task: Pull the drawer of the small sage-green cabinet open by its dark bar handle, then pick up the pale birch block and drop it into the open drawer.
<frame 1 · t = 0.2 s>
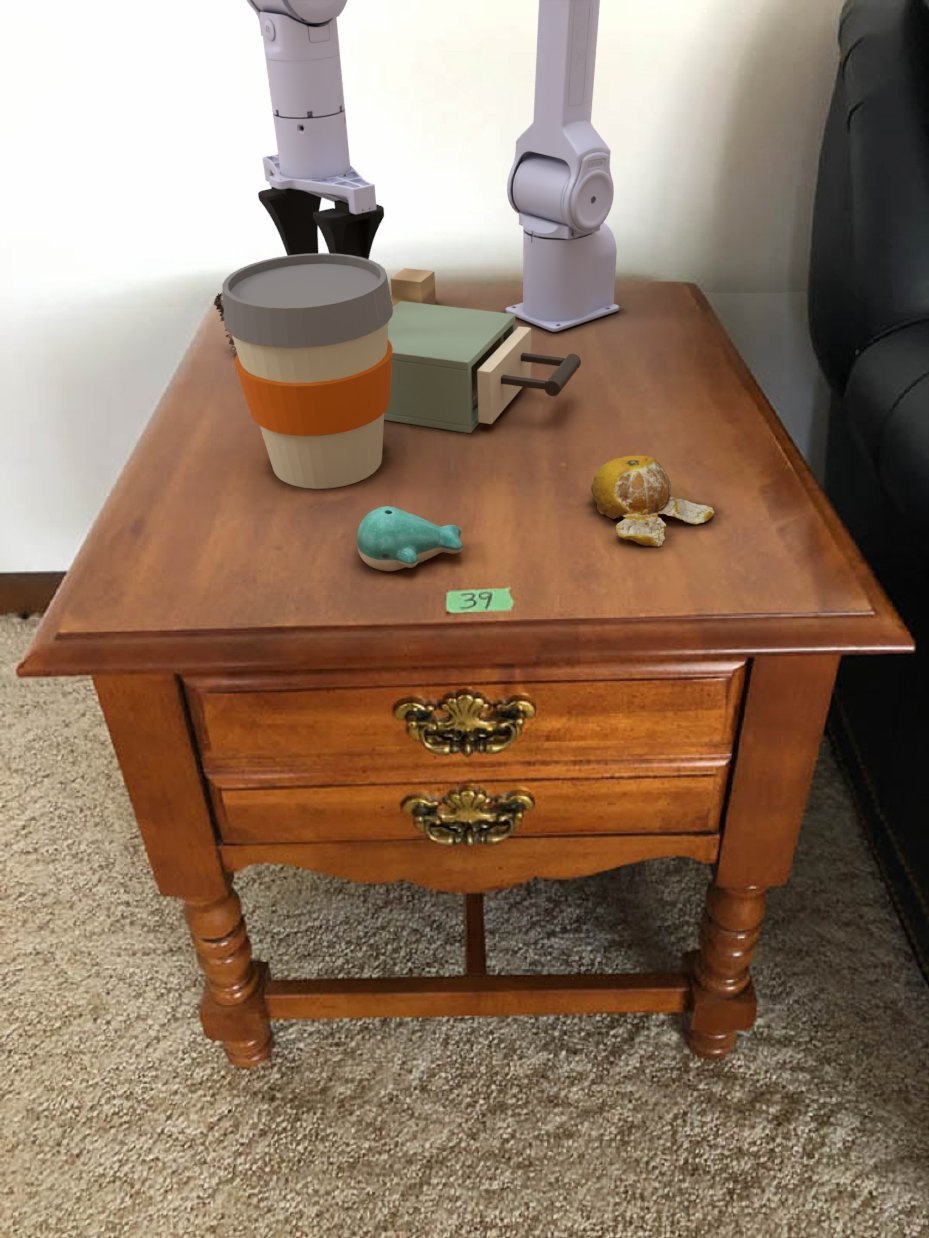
hand: (328, 282, 90), 10 cm above the table, tool pointing down, fingers open, 7 cm apart
fruit: (643, 520, 76), on the table
plant with pod: (271, 314, 100), point 4 cm above the table
cabinet: (435, 397, 94), on the table
block: (414, 307, 112), on the table
reusable coffee cup: (327, 463, 84), on the table
drawer: (484, 371, 90), point 3 cm above the table, slide at 0.5 cm
whale figurine: (411, 558, 73), on the table
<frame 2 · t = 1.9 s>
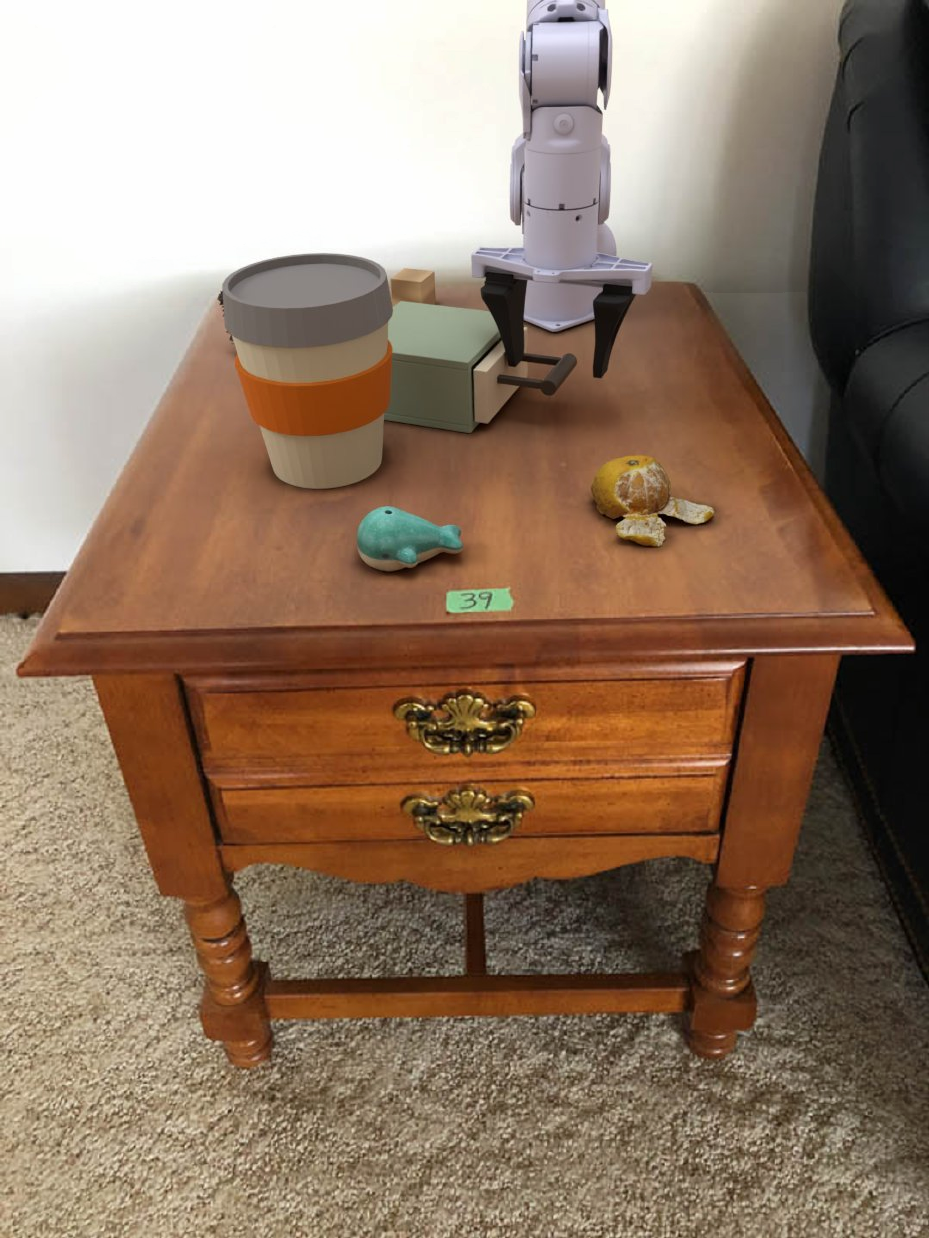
hand: (557, 368, 87), 4 cm above the table, tool pointing down, fingers open, 7 cm apart
drawer: (481, 370, 90), point 3 cm above the table, slide at 0.2 cm, touching gripper
everything else where it was.
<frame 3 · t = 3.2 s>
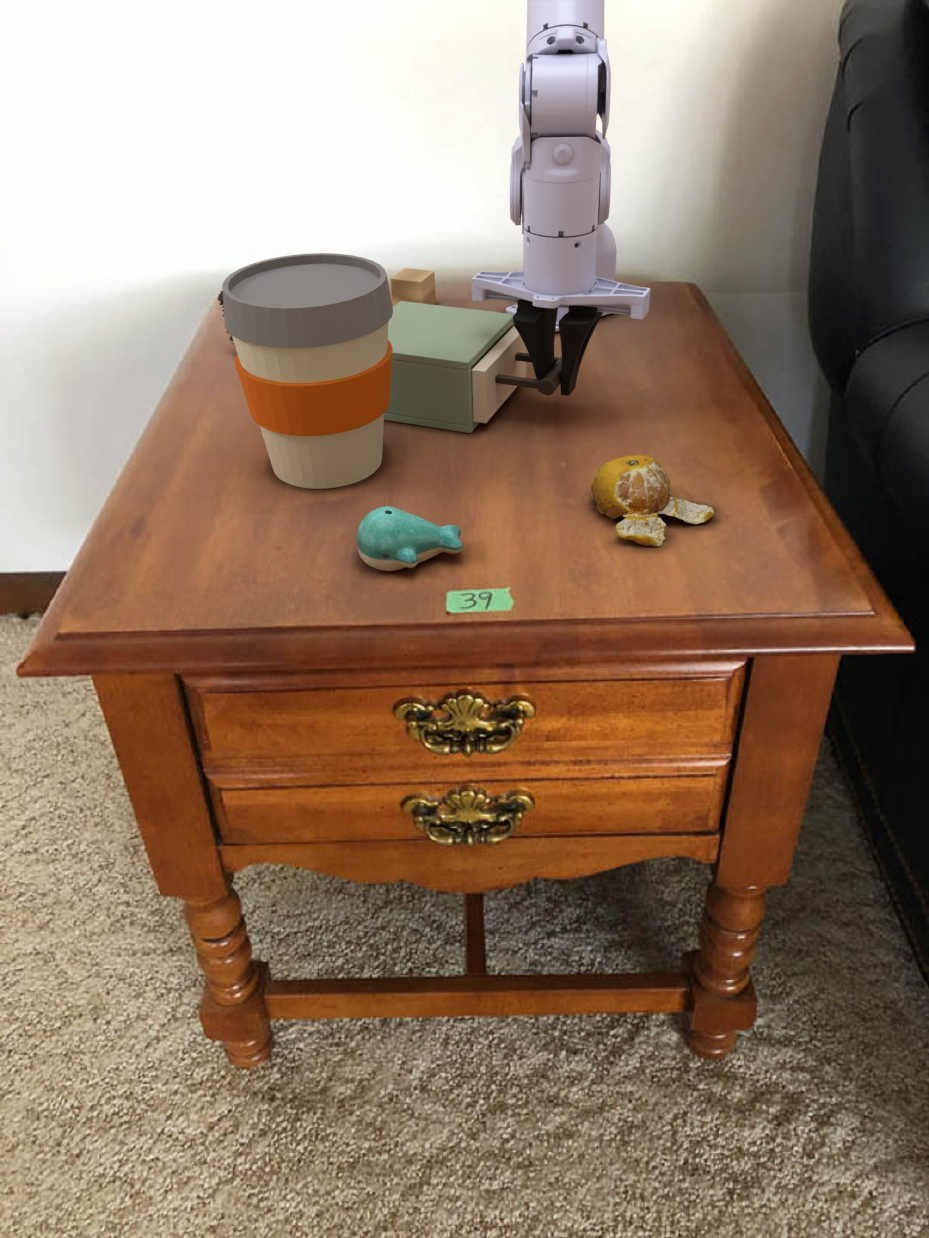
hand: (556, 389, 88), 2 cm above the table, tool pointing down, fingers closed on drawer
drawer: (479, 370, 90), point 3 cm above the table, slide at 0.0 cm, touching gripper
everything else where it was.
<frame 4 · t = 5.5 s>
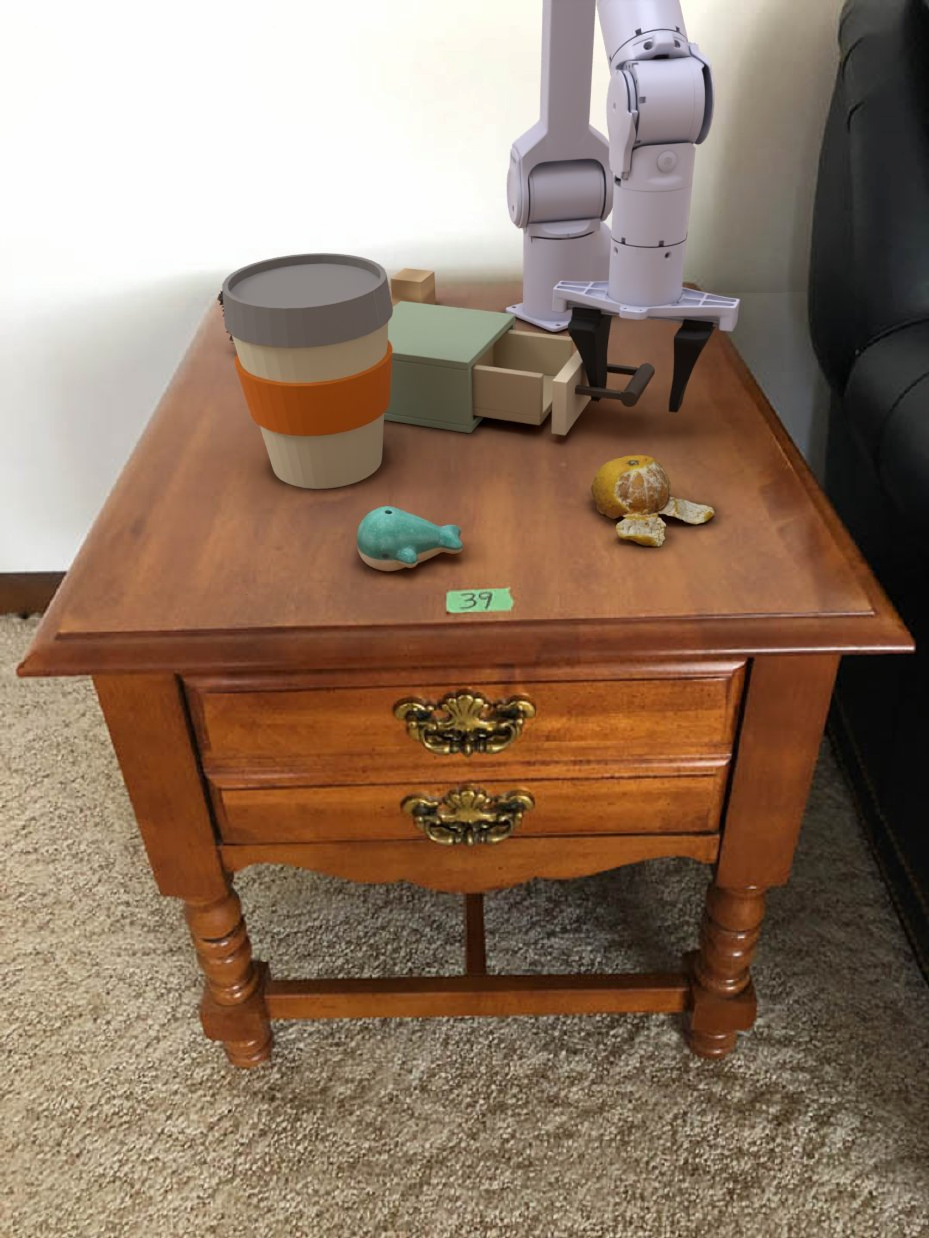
hand: (636, 402, 86), 2 cm above the table, tool pointing down, fingers open, 6 cm apart
drawer: (555, 380, 88), point 3 cm above the table, slide at 7.0 cm, touching gripper
everything else where it was.
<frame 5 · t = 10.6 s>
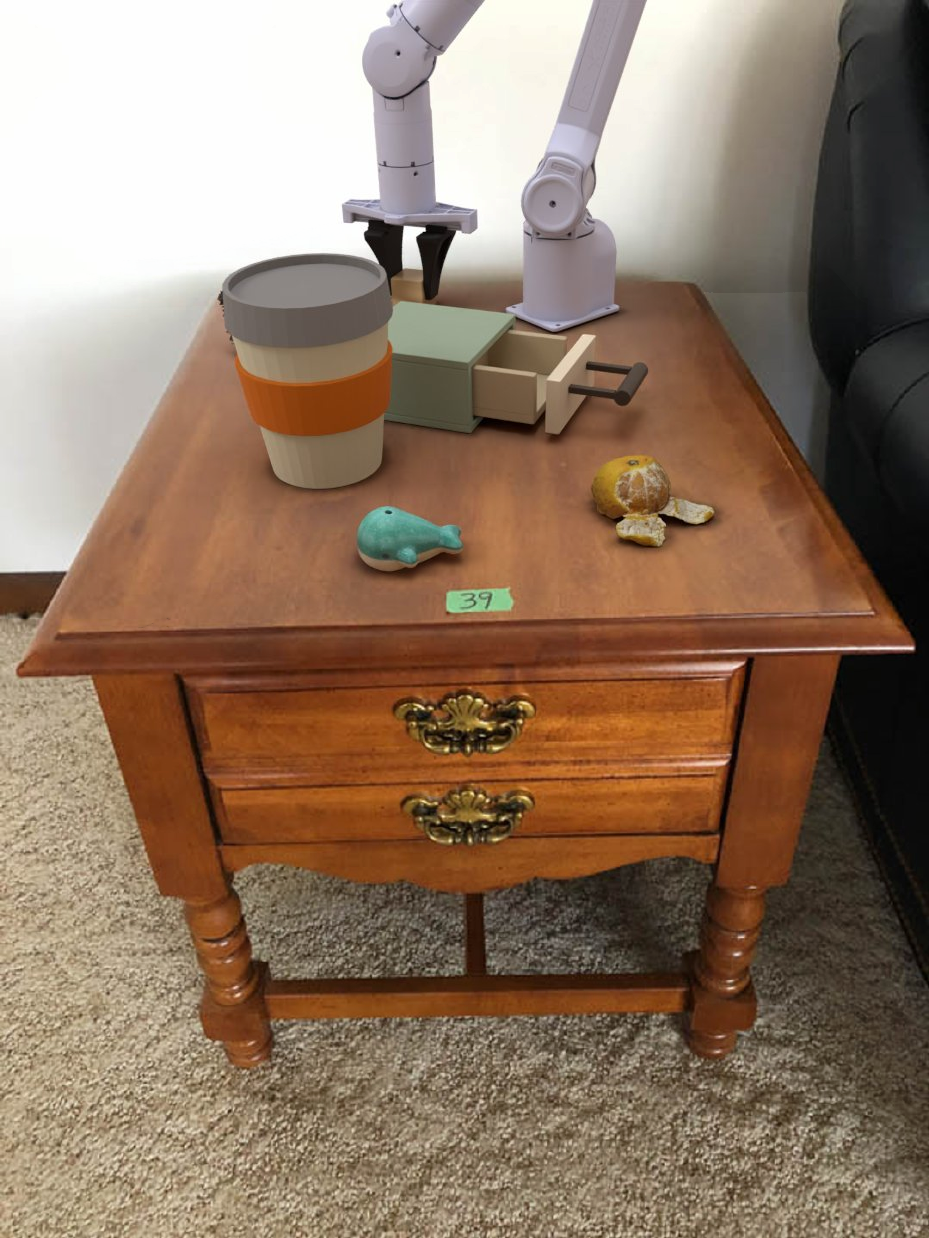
hand: (413, 295, 111), 1 cm above the table, tool pointing down, fingers closed on block, 3 cm apart
block: (414, 307, 112), on the table, touching gripper
drawer: (549, 379, 88), point 3 cm above the table, slide at 6.5 cm
everything else where it was.
when the fingers open (4 cm above the table, at t = 16.3 s): block stays where it is, resting on drawer.
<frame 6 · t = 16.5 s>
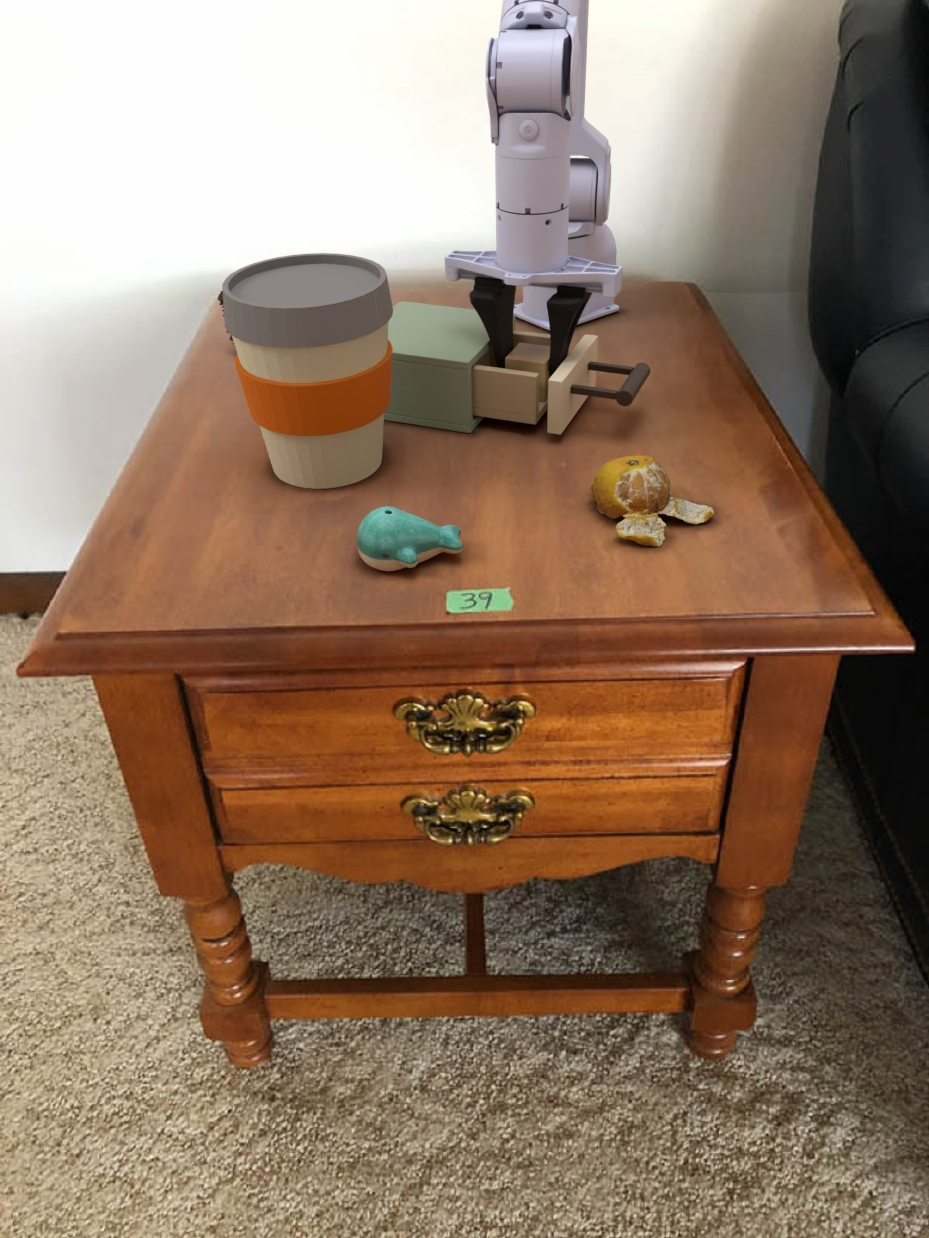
hand: (531, 369, 88), 4 cm above the table, tool pointing down, fingers open, 4 cm apart
block: (531, 392, 89), point 2 cm above the table, touching drawer
drawer: (551, 380, 88), point 3 cm above the table, slide at 6.6 cm, touching block
everything else where it was.
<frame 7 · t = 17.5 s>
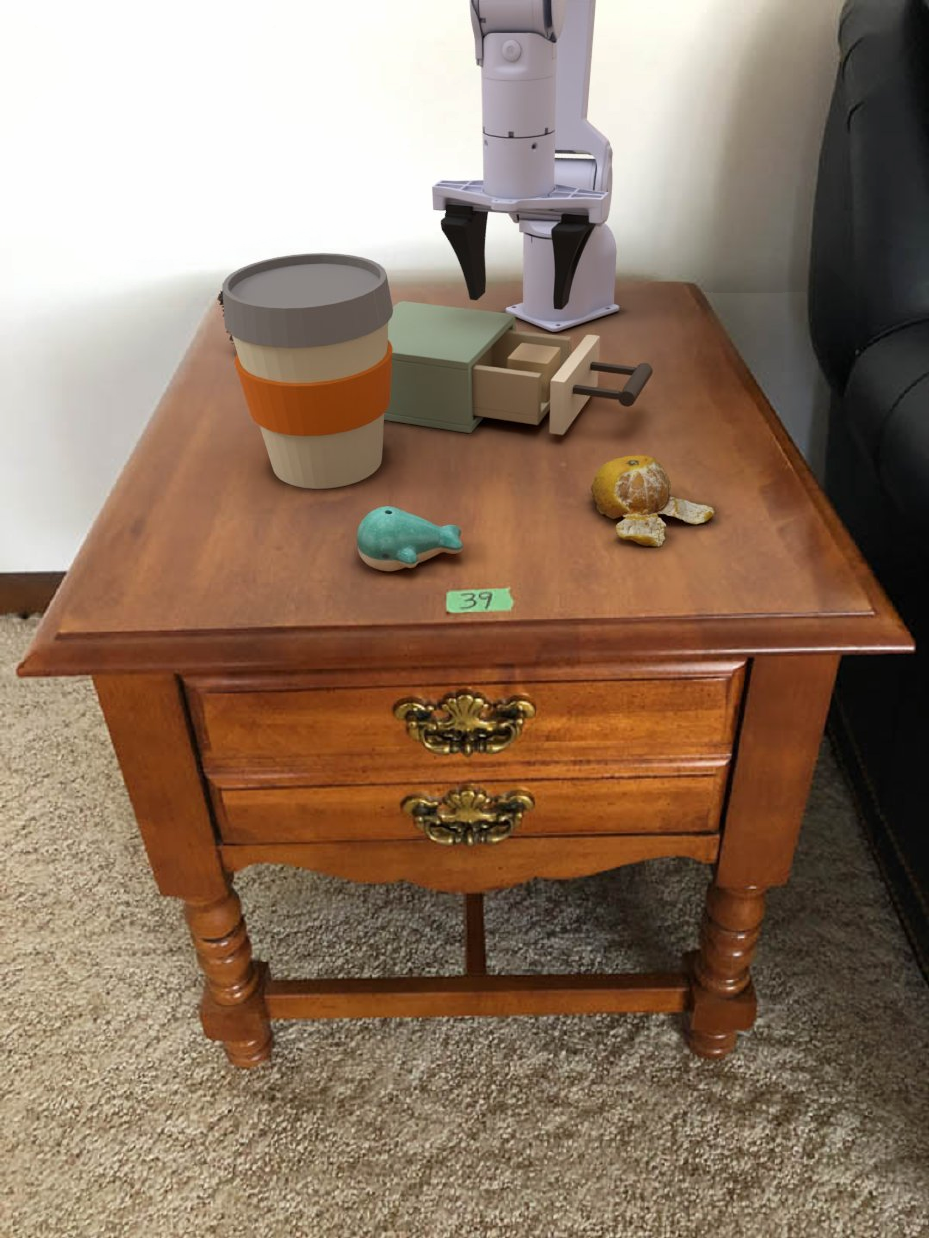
hand: (518, 301, 89), 9 cm above the table, tool pointing down, fingers open, 7 cm apart
nothing on the table moved.
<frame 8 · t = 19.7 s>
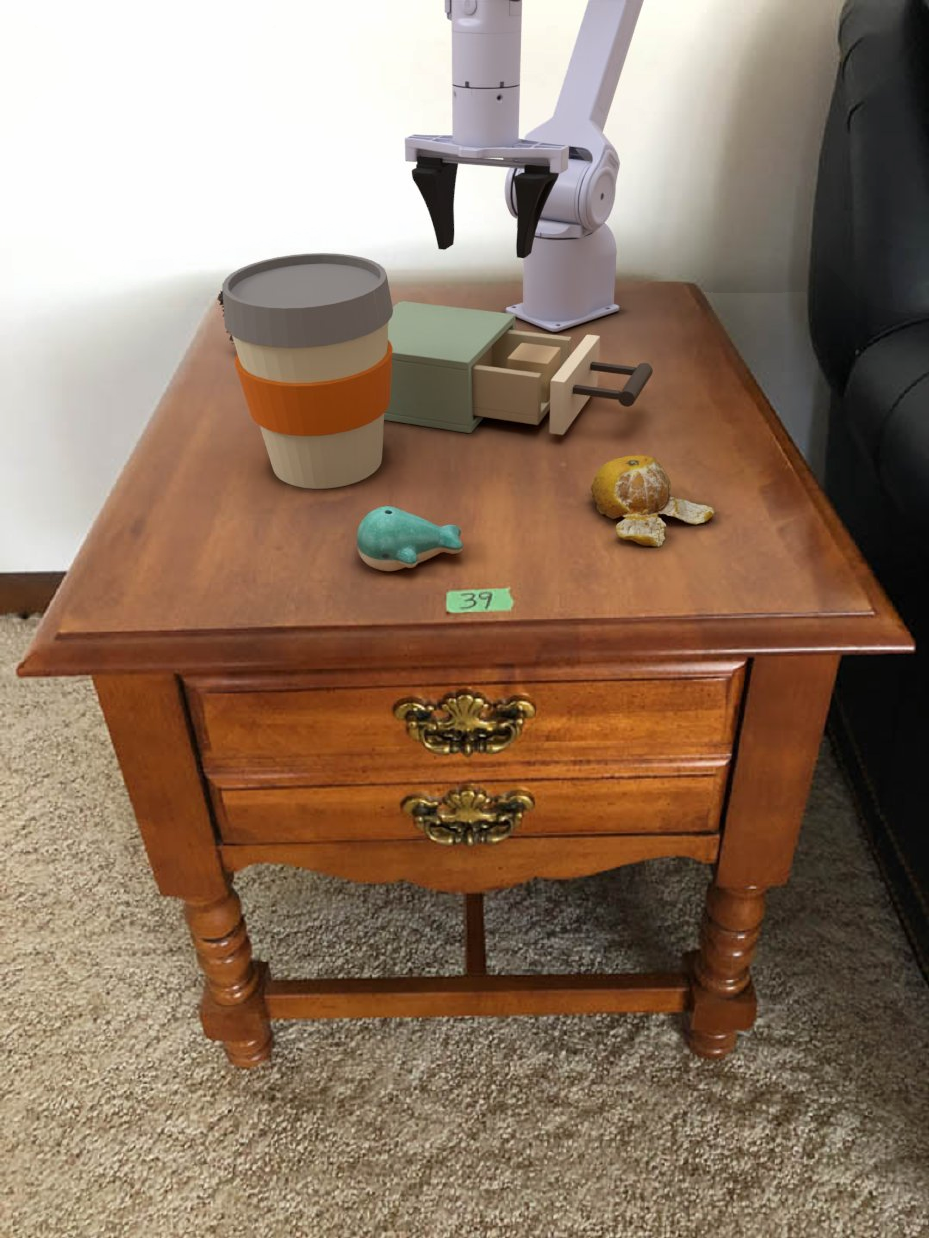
hand: (484, 251, 94), 10 cm above the table, tool pointing down, fingers open, 7 cm apart
nothing on the table moved.
at the end: drawer slide at 6.8 cm; block inside the target area in the drawer (0.5 cm from its centre), point 1.9 cm above the cabinet's base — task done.
